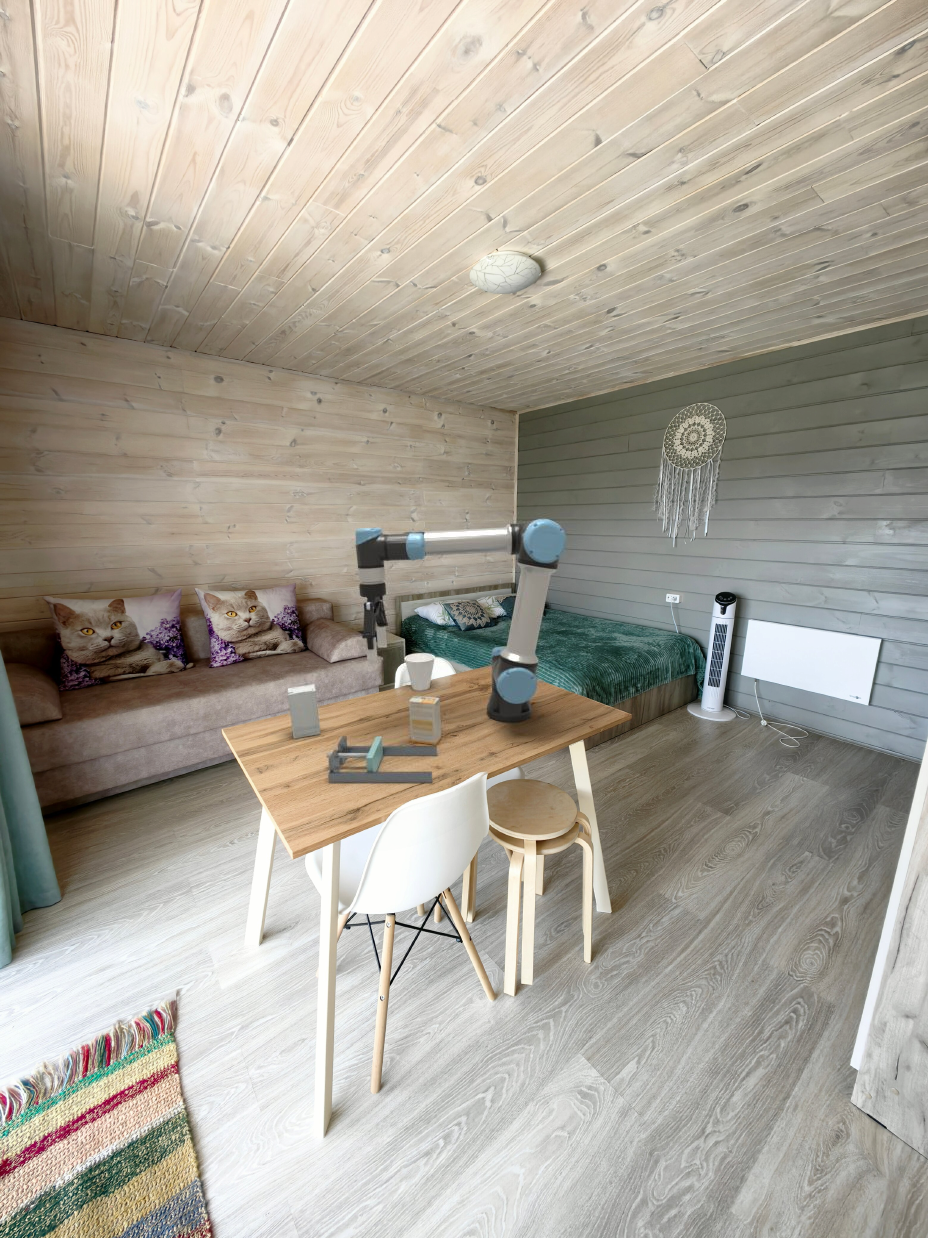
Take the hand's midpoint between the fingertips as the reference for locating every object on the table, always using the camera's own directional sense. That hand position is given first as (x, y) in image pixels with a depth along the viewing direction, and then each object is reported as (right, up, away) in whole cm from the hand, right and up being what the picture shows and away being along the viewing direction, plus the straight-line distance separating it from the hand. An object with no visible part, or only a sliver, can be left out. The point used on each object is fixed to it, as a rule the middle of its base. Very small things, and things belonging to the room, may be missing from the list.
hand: (377, 653), depth 142 cm
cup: (+9, -17, +46) cm, 50 cm away
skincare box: (-24, -26, +7) cm, 35 cm away
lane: (+5, -29, -15) cm, 33 cm away
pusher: (-4, -29, -15) cm, 33 cm away
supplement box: (+14, -26, +1) cm, 30 cm away
